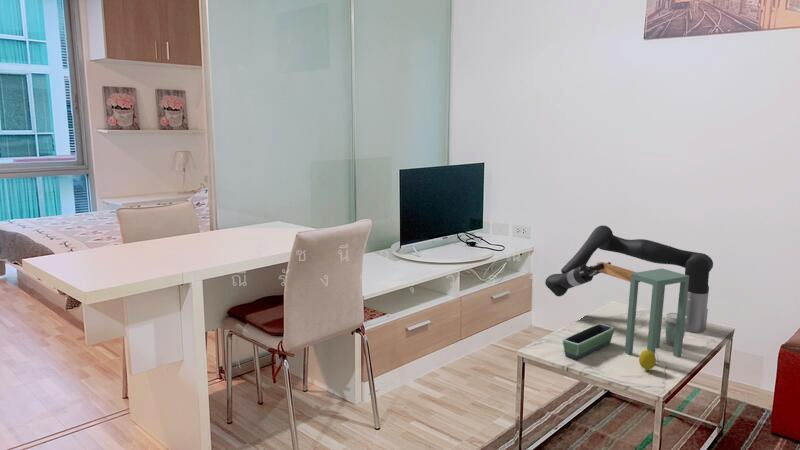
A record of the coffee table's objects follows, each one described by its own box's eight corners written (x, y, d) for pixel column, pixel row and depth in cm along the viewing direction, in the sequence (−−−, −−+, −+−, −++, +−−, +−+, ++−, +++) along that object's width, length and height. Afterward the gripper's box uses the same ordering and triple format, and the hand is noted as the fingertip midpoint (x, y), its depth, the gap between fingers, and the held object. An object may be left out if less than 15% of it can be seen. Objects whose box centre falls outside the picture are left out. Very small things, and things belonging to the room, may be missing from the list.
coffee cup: (665, 347, 233) (668, 318, 231) (659, 339, 242) (662, 311, 240) (688, 348, 232) (691, 319, 230) (681, 340, 240) (684, 312, 238)
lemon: (635, 367, 214) (637, 346, 213) (649, 366, 215) (651, 346, 213) (642, 373, 209) (644, 352, 207) (657, 373, 209) (659, 352, 208)
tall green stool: (655, 345, 235) (662, 268, 229) (681, 356, 224) (689, 275, 219) (624, 352, 227) (631, 273, 222) (650, 364, 217) (657, 281, 211)
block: (602, 269, 248) (602, 262, 247) (640, 282, 231) (641, 273, 230) (596, 270, 247) (596, 262, 246) (634, 283, 229) (634, 274, 228)
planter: (577, 362, 218) (578, 344, 217) (560, 357, 223) (561, 339, 222) (614, 344, 236) (615, 327, 235) (597, 339, 242) (598, 322, 240)
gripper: (564, 269, 256) (591, 258, 241) (589, 266, 262) (616, 254, 247) (569, 286, 254) (597, 275, 239) (594, 282, 260) (622, 271, 245)
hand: (606, 265), depth 243 cm, fingers closed on block, 3 cm apart
